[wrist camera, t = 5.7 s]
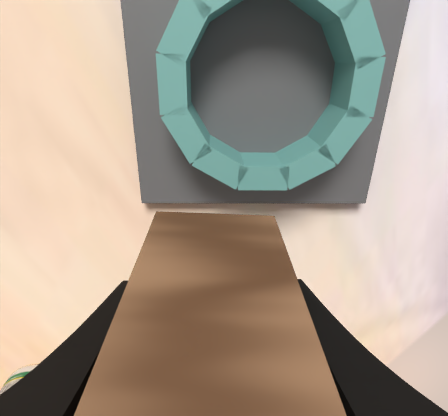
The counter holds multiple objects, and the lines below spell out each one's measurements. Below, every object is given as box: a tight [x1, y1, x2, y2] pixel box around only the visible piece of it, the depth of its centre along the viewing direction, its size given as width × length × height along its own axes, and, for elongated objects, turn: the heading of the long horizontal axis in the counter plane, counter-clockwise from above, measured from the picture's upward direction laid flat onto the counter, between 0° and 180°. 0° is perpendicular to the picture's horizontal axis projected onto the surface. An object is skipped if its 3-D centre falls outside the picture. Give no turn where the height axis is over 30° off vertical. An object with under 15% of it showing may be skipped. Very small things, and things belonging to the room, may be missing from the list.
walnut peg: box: [74, 212, 347, 416], centre depth 9 cm, size 4×4×8 cm
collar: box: [121, 0, 410, 203], centre depth 15 cm, size 13×13×3 cm
